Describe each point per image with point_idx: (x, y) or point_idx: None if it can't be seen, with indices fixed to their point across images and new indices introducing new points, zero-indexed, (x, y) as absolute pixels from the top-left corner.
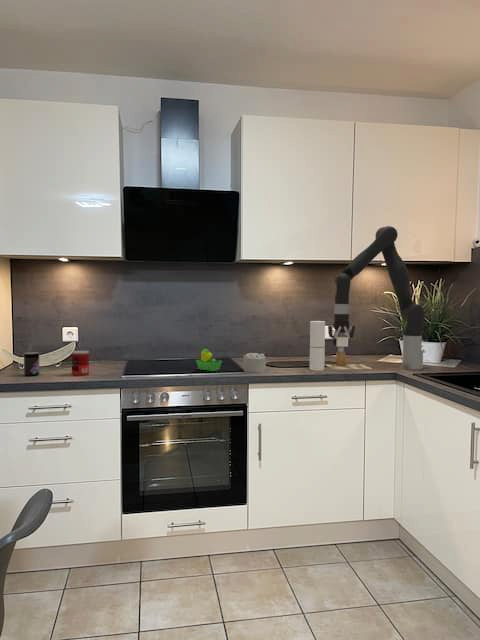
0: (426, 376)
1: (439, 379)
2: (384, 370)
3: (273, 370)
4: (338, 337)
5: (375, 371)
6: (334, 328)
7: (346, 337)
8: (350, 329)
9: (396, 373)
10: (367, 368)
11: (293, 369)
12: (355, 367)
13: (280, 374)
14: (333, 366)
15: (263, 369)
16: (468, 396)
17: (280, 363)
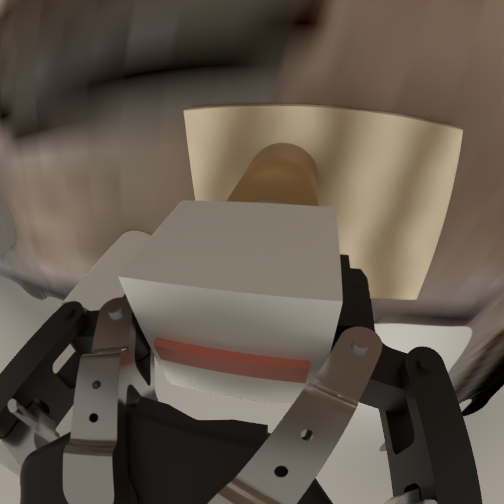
0: (495, 359)
1: (480, 384)
2: (487, 258)
3: (21, 205)
4: (182, 374)
5: (435, 276)
6: (63, 441)
7: (298, 394)
8: (402, 495)
9: (471, 320)
10: (401, 285)
11: (58, 183)
12: (355, 249)
13: (54, 272)
14: (227, 197)
15: (10, 240)
16: (385, 449)
17: (20, 29)
